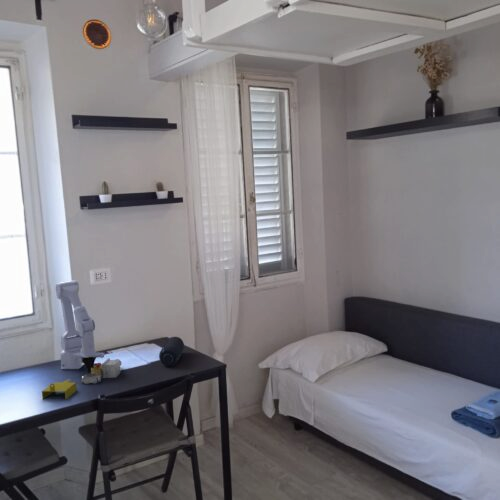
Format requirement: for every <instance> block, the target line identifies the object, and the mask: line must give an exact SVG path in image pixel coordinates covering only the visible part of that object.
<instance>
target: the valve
mask: <svg viewBox="0 0 500 500" xmlns="http://www.w3.org/2000/svg"><path fill="white" fill-rule="evenodd" d="M90 374H99V375H101V378H103V376H102V363H101V362H94V365H93V367H91V373H90Z"/></svg>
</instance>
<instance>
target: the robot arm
mask: <svg viewBox="0 0 500 500" xmlns="http://www.w3.org/2000/svg"><path fill="white" fill-rule="evenodd" d="M55 292H56V293H55V294H56V298H57V299H58V300H60V303H61V310H62V317H63V322H64V328H65V332H63V333H62V335H61V336H60V341H61V342H60V346H61V352H60V365H61V367H60V369H61V370H79V369H81V368H82V367H83V366H85V368H86V370H87V373H88V374H91V367H93V366H94V364H95V363H96V362H95V361H96V359H97V358H99V359H100V358H102V359H103V358H104V357H105V352H99V351H96V350H95V349H96V348H95V339H94V338H95V336H94V332H95V329H96V324H95V321H94V318H92V317H91V316H90V315H89V313H88V311H87V309H86V307H85V306H83V305H82V302H81V298H80V296H79V292H80V284H79V282H78V280H76V279H74V280H69V281H68V280H67V281H62V282H57V283H56V285H55ZM73 308H74V310H73ZM74 316H75V317H74ZM75 319H76V320H75ZM75 321H77V327H76V322H75ZM77 329H78V330H77ZM81 350H82V352H81Z"/></svg>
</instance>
